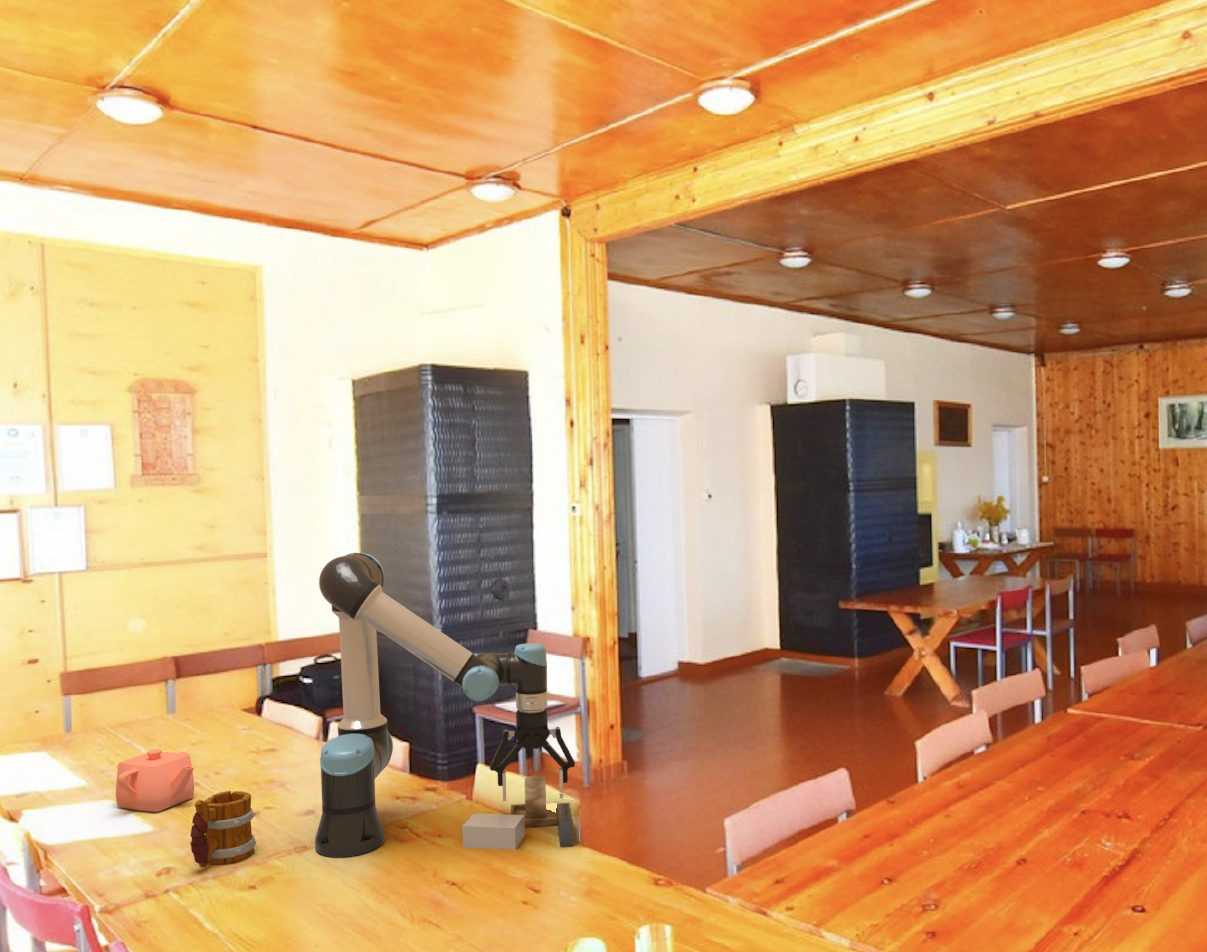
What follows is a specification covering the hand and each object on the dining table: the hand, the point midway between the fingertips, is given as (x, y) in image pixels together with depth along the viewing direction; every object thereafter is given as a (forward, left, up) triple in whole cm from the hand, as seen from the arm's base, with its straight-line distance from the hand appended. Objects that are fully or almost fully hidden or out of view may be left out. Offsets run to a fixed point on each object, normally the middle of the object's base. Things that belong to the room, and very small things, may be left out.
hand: (533, 797), depth 225 cm
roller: (+1, 0, -4) cm, 4 cm away
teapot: (-96, +28, -5) cm, 100 cm away
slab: (-9, -13, -5) cm, 17 cm away
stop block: (+7, -13, -5) cm, 15 cm away
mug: (-69, -13, -5) cm, 70 cm away
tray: (0, 0, -5) cm, 5 cm away
